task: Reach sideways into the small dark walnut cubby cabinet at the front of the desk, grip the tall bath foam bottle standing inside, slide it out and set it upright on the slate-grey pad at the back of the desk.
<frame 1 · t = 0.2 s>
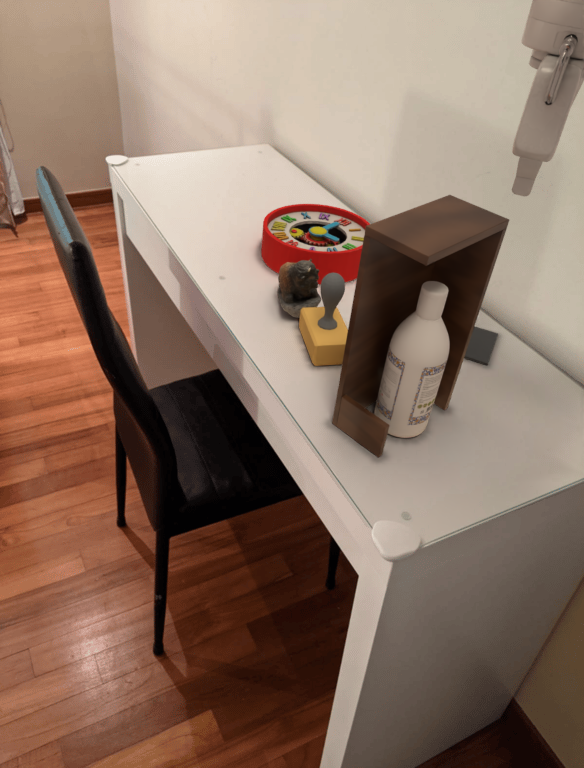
hand: (526, 178, 64), 31 cm above the table, tool pointing down, fingers open, 8 cm apart
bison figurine: (297, 306, 99), on the table
toy clock: (315, 257, 112), on the table
rubber stamp: (323, 346, 91), on the table
pad: (463, 341, 95), on the table
bath foam: (399, 422, 79), on the table
cabinet: (399, 421, 79), on the table
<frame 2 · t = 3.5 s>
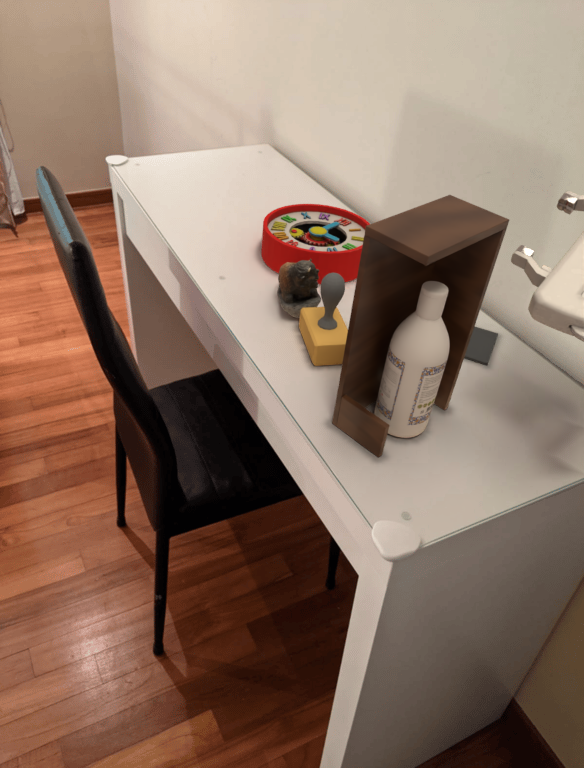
hand: (538, 225, 69), 25 cm above the table, tool horizontal, fingers open, 8 cm apart
nothing on the table moved.
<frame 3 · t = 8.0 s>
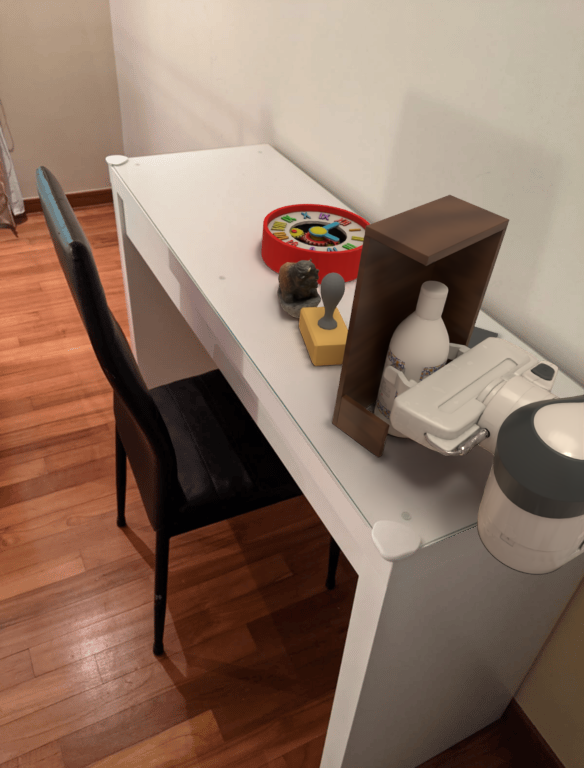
hand: (410, 356, 73), 10 cm above the table, tool horizontal, fingers closed on bath foam, 7 cm apart
bath foam: (399, 422, 79), on the table, touching gripper
everything else where it was.
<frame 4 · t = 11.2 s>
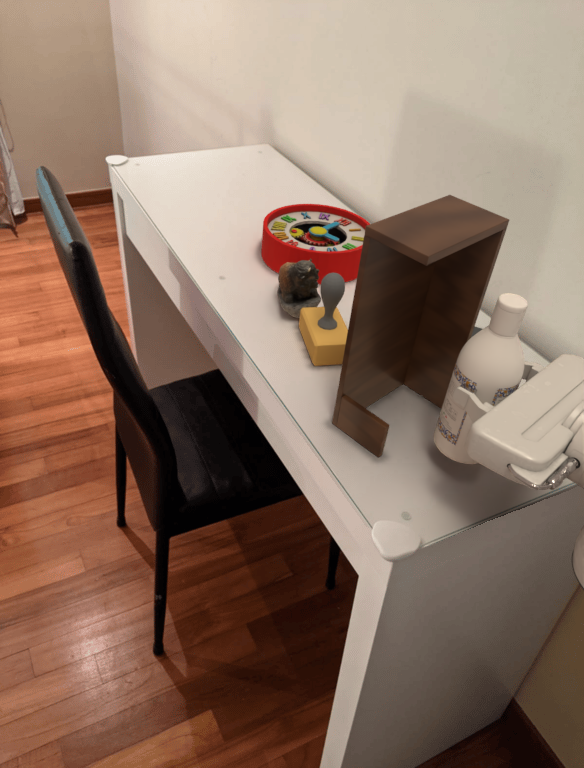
hand: (478, 375, 67), 13 cm above the table, tool horizontal, fingers closed on bath foam, 7 cm apart
bath foam: (461, 446, 73), point 3 cm above the table, touching gripper
everything else where it was.
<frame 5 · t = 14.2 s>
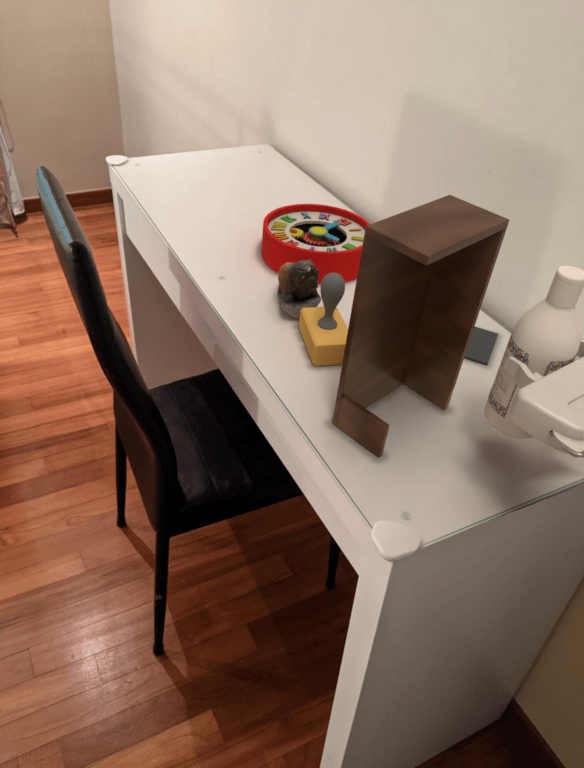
hand: (533, 349, 67), 15 cm above the table, tool horizontal, fingers closed on bath foam, 7 cm apart
bath foam: (511, 421, 73), point 5 cm above the table, touching gripper
everything else where it was.
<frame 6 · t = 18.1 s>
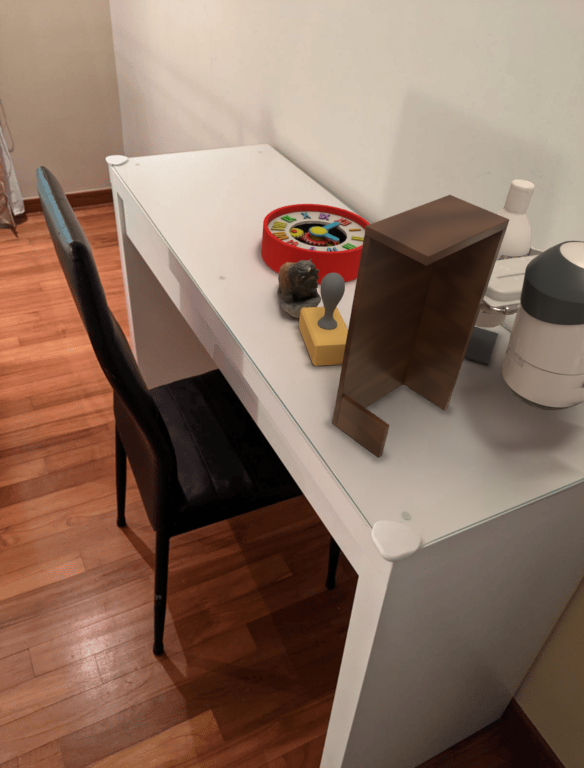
hand: (496, 251, 84), 16 cm above the table, tool horizontal, fingers closed on bath foam, 7 cm apart
bath foam: (479, 317, 90), point 6 cm above the table, touching gripper
everything else where it was.
when the fingers open (11 cm above the table, at t = 20.8 s): bath foam stays where it is, resting on pad.
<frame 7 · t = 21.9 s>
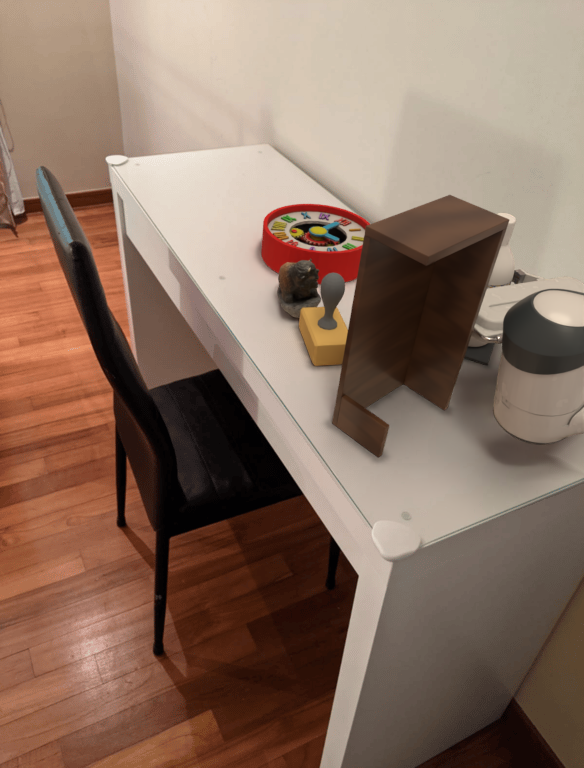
hand: (488, 277, 87), 12 cm above the table, tool horizontal, fingers open, 8 cm apart
bath foam: (468, 335, 95), point 1 cm above the table, touching gripper, pad
everything else where it was.
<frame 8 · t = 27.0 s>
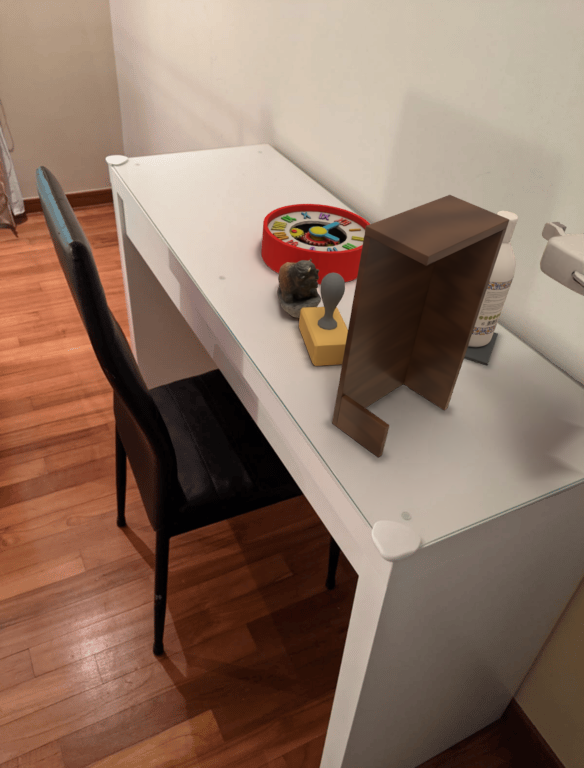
hand: (579, 224, 71), 25 cm above the table, tool horizontal, fingers open, 8 cm apart
bath foam: (467, 336, 96), resting on pad
everything else where it was.
at the end: bath foam inside the target area on the pad (1.2 cm from its centre), point 0.2 cm above the pad's base; bath foam tilted 0°; the gripper is holding nothing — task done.
